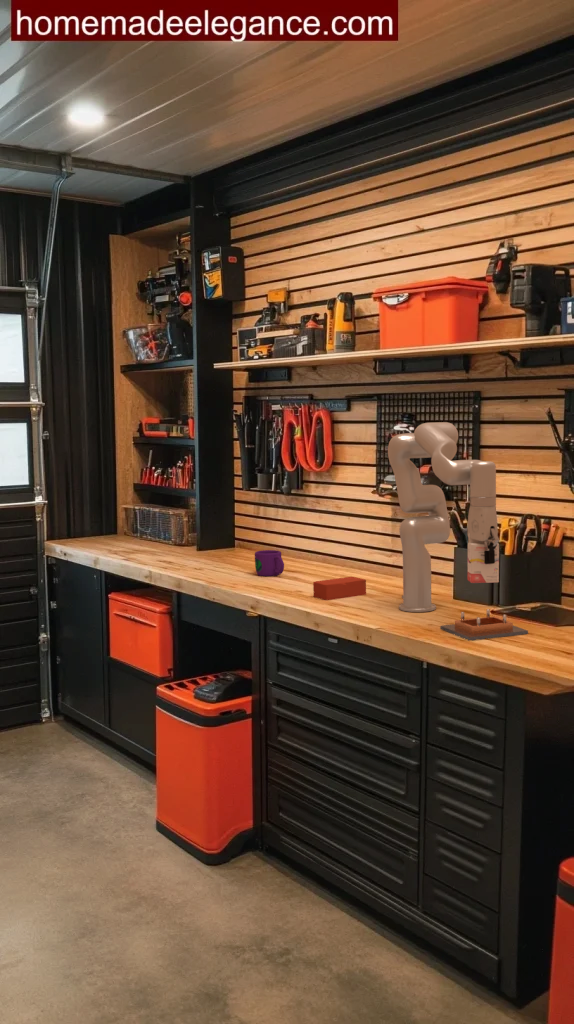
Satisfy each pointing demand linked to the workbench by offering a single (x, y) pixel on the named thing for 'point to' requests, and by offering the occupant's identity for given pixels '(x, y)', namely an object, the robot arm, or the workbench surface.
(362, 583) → the brick
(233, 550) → the workbench surface
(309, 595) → the workbench surface
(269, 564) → the mug
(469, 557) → the ink cartridge box
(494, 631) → the cartridge tray
